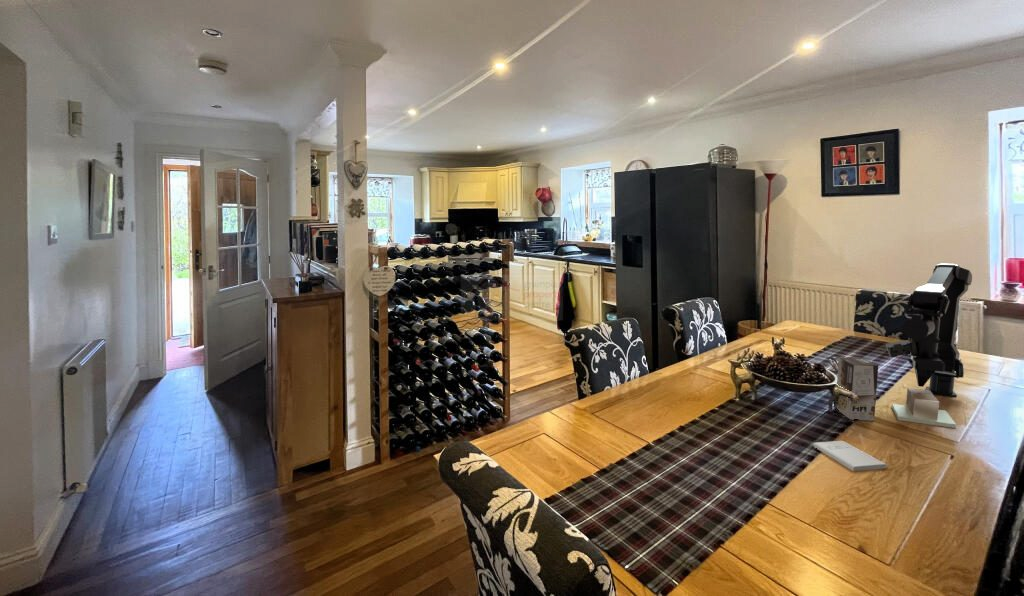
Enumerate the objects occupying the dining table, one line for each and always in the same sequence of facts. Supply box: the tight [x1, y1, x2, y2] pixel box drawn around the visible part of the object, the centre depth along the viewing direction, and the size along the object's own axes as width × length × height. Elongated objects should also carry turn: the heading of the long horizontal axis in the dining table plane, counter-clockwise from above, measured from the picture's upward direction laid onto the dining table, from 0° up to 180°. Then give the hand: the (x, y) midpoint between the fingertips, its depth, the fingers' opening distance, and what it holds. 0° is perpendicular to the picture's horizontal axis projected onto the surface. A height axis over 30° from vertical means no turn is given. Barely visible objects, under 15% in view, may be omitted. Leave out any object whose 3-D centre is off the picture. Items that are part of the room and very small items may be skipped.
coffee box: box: [836, 356, 880, 422], centre depth 135 cm, size 9×6×16 cm
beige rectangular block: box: [905, 387, 940, 420], centre depth 133 cm, size 5×5×11 cm
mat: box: [891, 403, 957, 429], centre depth 132 cm, size 11×12×1 cm
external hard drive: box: [812, 440, 887, 472], centre depth 111 cm, size 2×8×12 cm
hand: (920, 386), depth 136 cm, fingers closed
